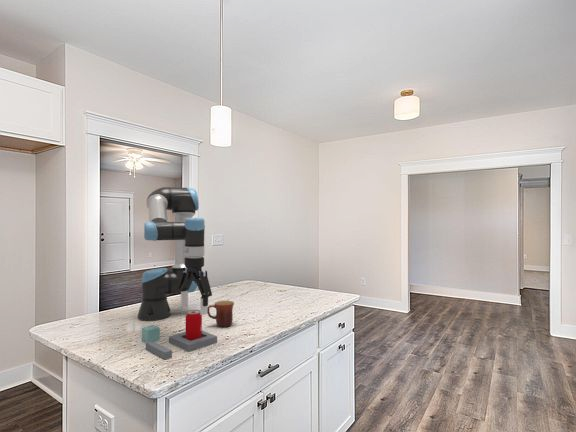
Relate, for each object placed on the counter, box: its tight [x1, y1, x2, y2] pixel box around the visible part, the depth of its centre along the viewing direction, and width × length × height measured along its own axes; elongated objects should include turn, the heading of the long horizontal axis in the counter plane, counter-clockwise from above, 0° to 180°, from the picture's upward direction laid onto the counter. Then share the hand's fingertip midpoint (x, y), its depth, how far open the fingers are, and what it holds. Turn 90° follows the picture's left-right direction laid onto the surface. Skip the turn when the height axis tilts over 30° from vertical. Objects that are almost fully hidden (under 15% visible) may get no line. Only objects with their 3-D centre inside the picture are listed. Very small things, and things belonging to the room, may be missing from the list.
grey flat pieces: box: [145, 330, 218, 360], centre depth 129 cm, size 14×22×2 cm, turn 139°
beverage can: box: [185, 309, 203, 341], centre depth 133 cm, size 6×6×12 cm
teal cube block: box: [141, 324, 161, 343], centre depth 135 cm, size 5×5×5 cm
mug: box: [207, 300, 235, 328], centre depth 154 cm, size 12×9×10 cm
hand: (193, 310), depth 133 cm, fingers open, 13 cm apart
